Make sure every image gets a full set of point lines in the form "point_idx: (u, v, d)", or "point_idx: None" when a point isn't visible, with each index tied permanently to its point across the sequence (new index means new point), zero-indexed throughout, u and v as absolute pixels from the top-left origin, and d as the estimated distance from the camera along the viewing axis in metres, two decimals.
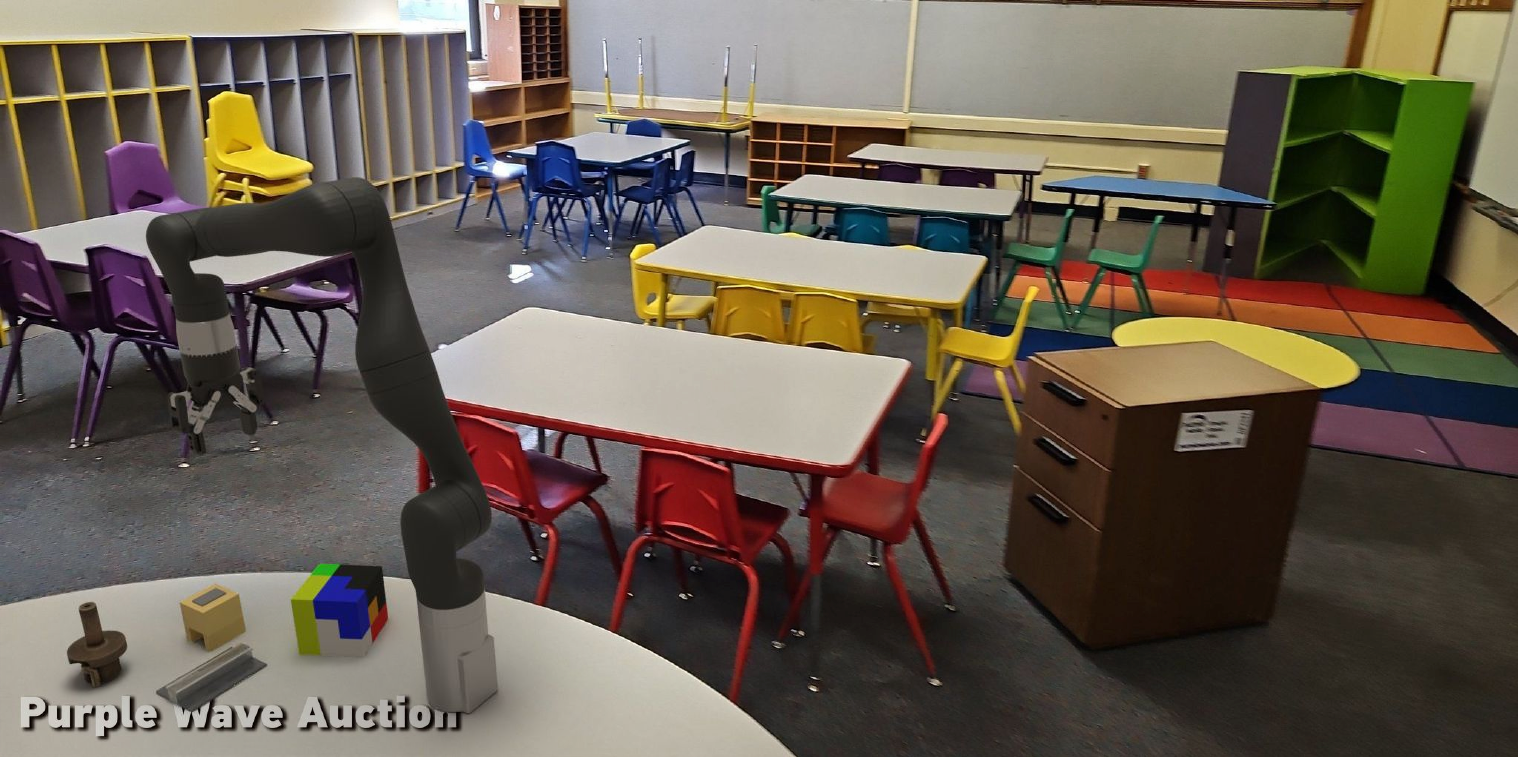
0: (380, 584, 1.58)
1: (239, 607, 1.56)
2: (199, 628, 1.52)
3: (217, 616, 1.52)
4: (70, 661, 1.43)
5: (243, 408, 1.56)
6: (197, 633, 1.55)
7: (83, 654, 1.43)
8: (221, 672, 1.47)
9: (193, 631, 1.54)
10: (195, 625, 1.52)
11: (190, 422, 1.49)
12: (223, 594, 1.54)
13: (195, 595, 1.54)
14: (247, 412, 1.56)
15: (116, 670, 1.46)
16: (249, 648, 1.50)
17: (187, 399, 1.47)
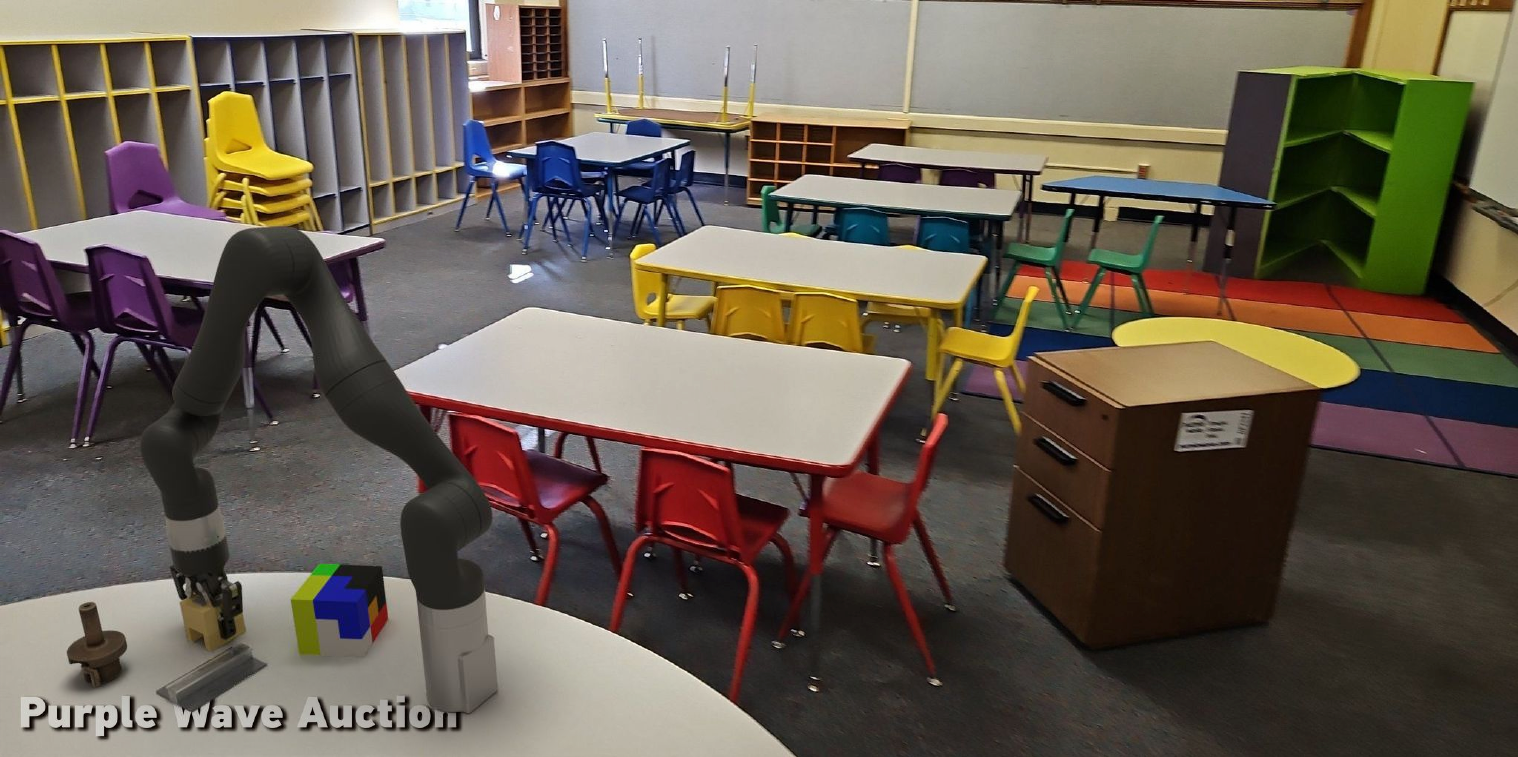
0: (380, 584, 1.58)
1: None
2: (199, 628, 1.52)
3: None
4: (70, 661, 1.43)
5: None
6: (197, 633, 1.55)
7: (83, 654, 1.43)
8: (221, 672, 1.47)
9: (193, 631, 1.54)
10: (195, 625, 1.52)
11: None
12: None
13: None
14: None
15: (116, 670, 1.46)
16: (249, 648, 1.50)
17: None
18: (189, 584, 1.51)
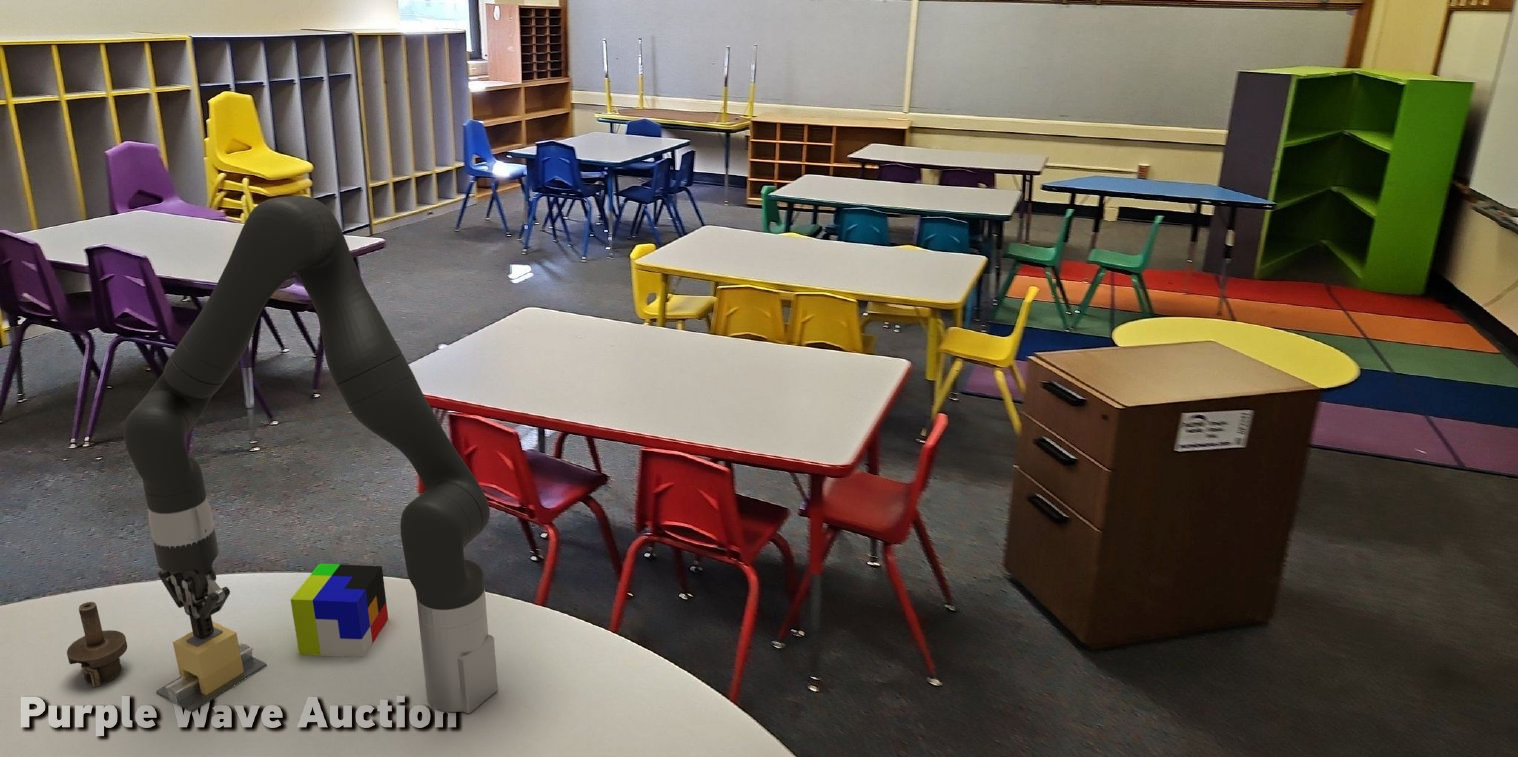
0: (380, 584, 1.58)
1: (237, 646, 1.46)
2: (194, 670, 1.42)
3: (213, 657, 1.43)
4: (70, 661, 1.43)
5: None
6: None
7: (84, 654, 1.43)
8: None
9: (187, 672, 1.45)
10: (189, 667, 1.42)
11: None
12: (219, 633, 1.45)
13: (190, 634, 1.44)
14: None
15: (116, 670, 1.46)
16: (249, 648, 1.50)
17: None
18: (175, 582, 1.39)
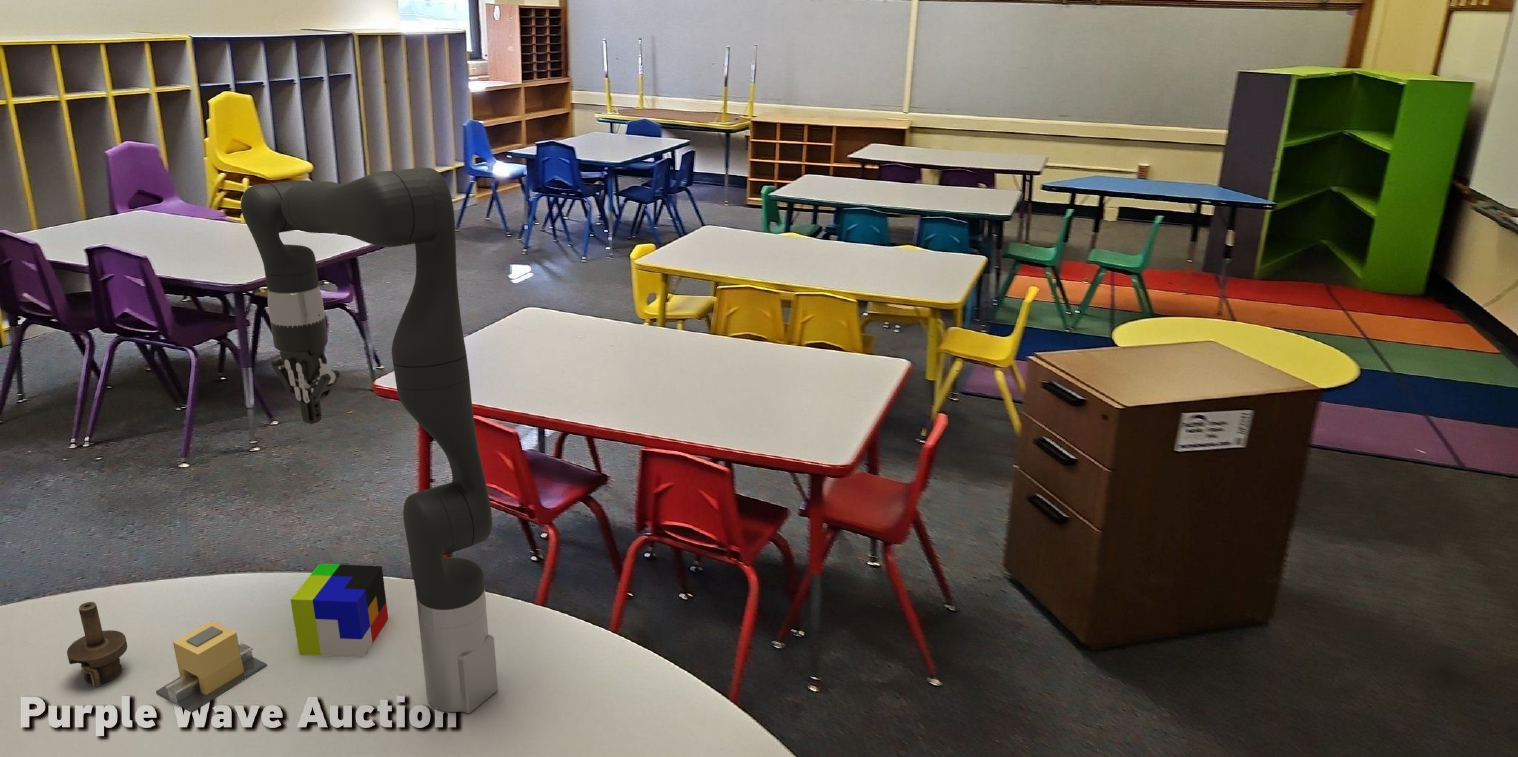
0: (380, 584, 1.58)
1: (237, 646, 1.46)
2: (194, 670, 1.42)
3: (213, 657, 1.43)
4: (70, 661, 1.43)
5: None
6: None
7: (84, 654, 1.43)
8: None
9: (187, 672, 1.45)
10: (189, 667, 1.42)
11: None
12: (219, 633, 1.45)
13: (190, 634, 1.44)
14: None
15: (116, 670, 1.46)
16: (249, 648, 1.50)
17: None
18: (289, 366, 1.51)
